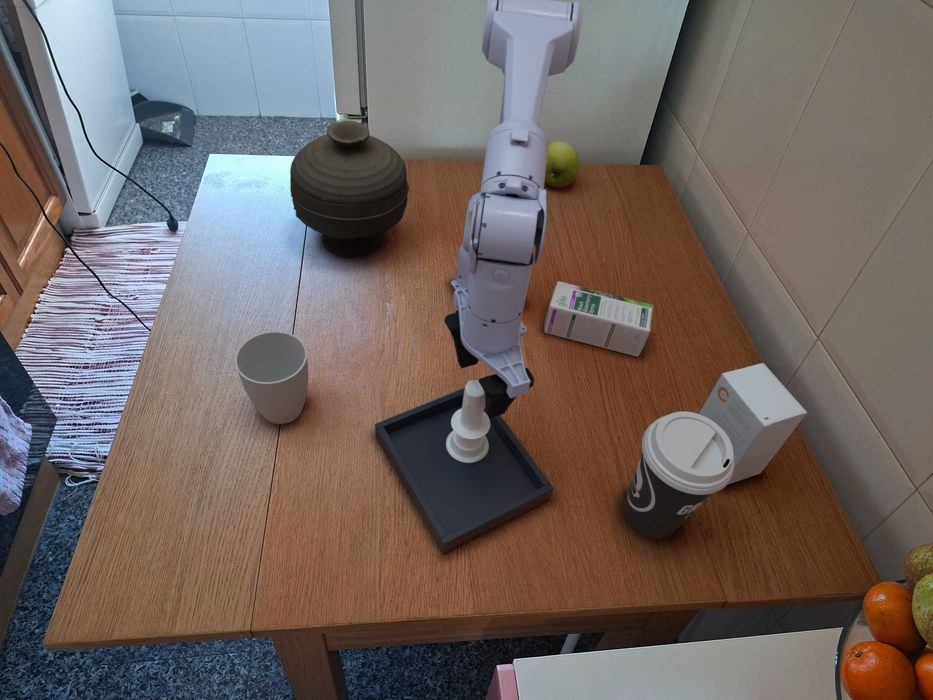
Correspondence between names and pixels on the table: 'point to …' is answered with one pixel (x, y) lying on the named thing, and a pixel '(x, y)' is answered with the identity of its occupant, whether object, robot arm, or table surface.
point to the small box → (753, 416)
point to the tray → (460, 473)
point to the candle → (469, 426)
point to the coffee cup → (677, 472)
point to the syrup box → (598, 318)
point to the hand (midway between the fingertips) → (481, 388)
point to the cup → (274, 374)
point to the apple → (561, 164)
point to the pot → (349, 189)
